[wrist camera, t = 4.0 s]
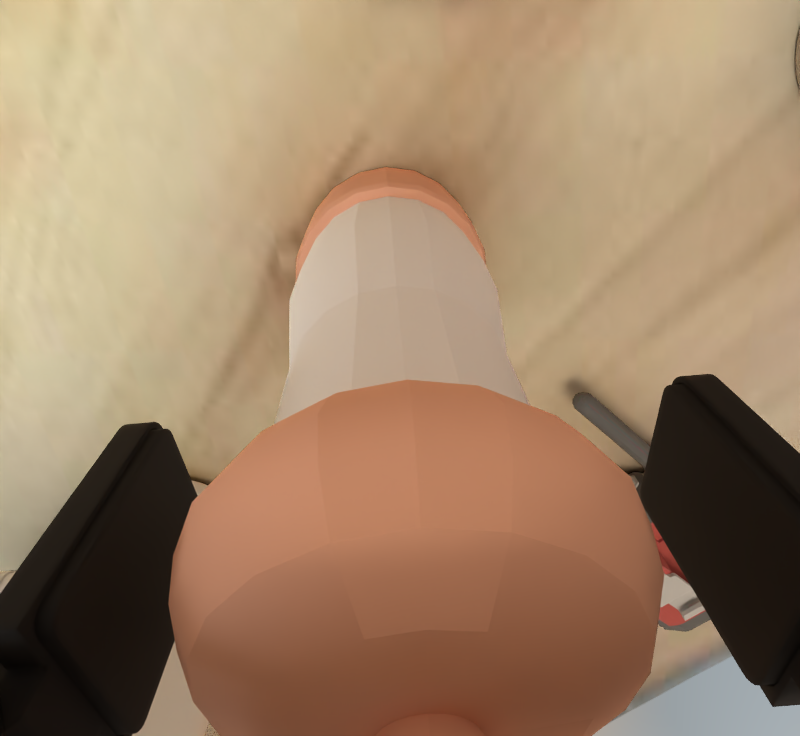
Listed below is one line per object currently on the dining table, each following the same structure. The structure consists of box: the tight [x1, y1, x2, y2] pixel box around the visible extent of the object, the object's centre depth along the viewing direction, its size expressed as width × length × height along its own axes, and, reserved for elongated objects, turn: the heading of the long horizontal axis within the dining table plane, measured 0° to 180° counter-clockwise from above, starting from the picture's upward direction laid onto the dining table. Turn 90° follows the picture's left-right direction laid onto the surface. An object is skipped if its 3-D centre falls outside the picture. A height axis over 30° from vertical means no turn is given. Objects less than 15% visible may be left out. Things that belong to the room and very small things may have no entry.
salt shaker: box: [168, 167, 664, 736], centre depth 13 cm, size 7×7×19 cm
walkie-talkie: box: [573, 392, 710, 631], centre depth 28 cm, size 9×4×20 cm
